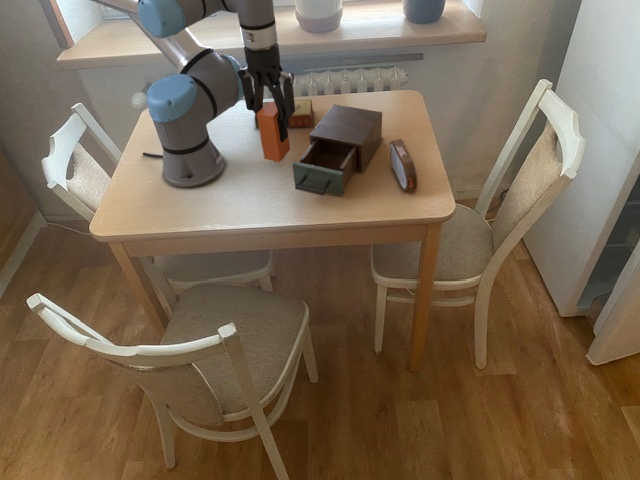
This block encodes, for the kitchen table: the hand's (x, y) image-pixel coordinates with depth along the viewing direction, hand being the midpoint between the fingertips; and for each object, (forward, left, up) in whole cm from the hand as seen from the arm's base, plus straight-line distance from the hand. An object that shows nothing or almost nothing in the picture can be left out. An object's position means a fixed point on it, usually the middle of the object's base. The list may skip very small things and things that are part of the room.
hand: (274, 137), depth 118 cm
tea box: (0, 0, -5) cm, 5 cm away
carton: (-12, +16, -8) cm, 21 cm away
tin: (+30, +12, -8) cm, 33 cm away
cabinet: (+12, +14, -7) cm, 20 cm away
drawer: (+16, 0, -6) cm, 17 cm away
